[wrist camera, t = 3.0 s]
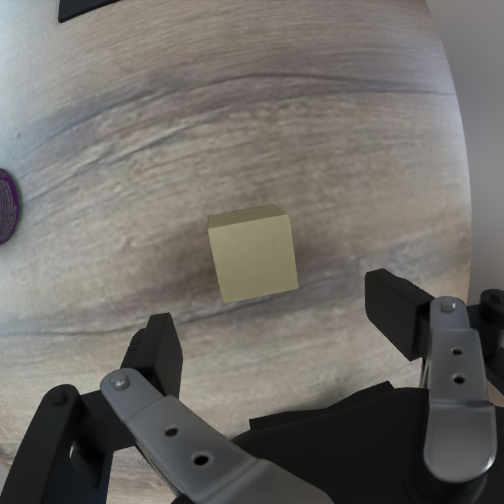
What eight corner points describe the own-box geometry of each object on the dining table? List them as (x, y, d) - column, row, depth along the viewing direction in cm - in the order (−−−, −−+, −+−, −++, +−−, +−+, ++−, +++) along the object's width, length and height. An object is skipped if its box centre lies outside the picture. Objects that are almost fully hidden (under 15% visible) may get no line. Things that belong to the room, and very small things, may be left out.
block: (273, 204, 23) (289, 213, 18) (282, 265, 24) (298, 289, 20) (208, 216, 23) (206, 228, 18) (221, 277, 24) (223, 304, 19)
